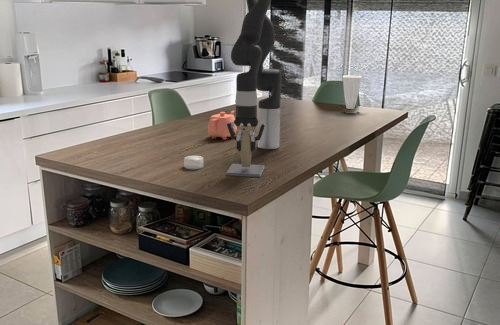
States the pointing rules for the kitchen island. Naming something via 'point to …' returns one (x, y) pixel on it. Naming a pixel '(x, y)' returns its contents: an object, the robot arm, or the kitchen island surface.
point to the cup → (351, 90)
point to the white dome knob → (193, 162)
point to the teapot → (221, 125)
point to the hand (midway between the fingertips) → (246, 150)
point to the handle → (246, 145)
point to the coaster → (245, 170)
